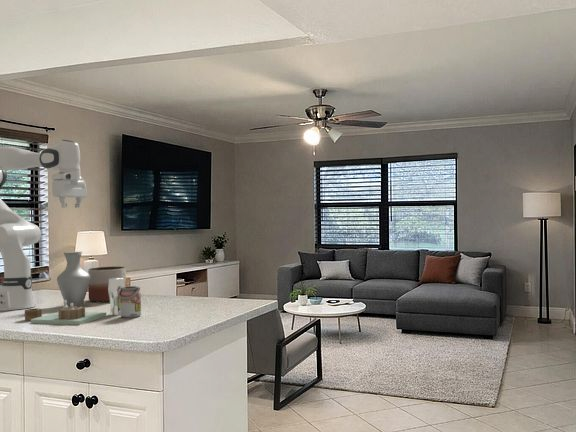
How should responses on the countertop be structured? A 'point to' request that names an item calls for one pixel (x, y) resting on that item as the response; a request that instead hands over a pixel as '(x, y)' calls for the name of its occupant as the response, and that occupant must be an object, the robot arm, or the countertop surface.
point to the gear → (32, 314)
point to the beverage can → (130, 301)
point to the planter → (103, 281)
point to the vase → (73, 280)
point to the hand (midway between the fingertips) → (70, 207)
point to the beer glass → (115, 294)
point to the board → (69, 316)
